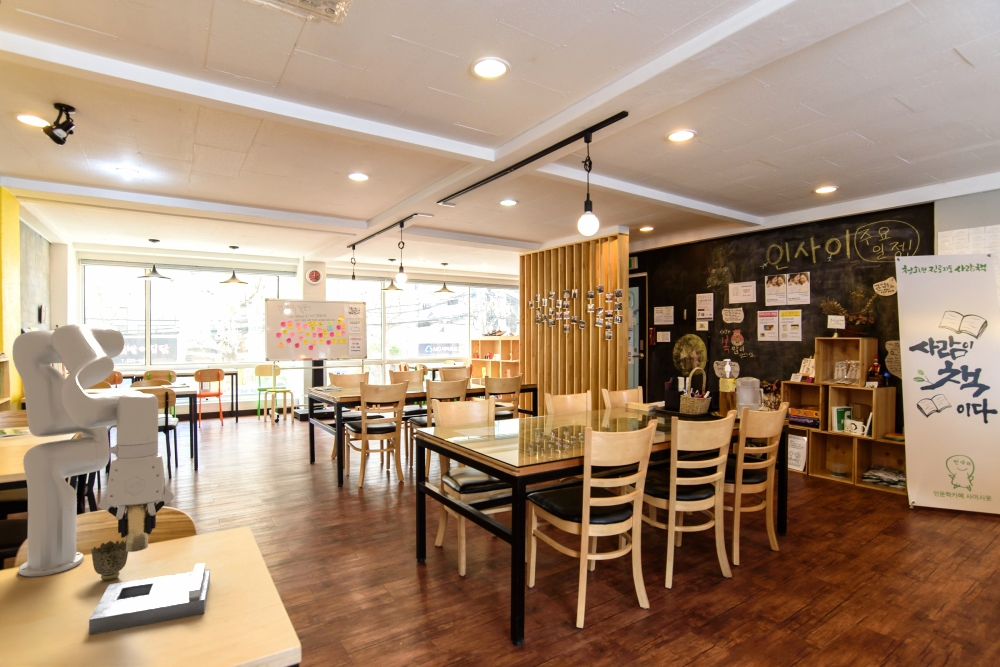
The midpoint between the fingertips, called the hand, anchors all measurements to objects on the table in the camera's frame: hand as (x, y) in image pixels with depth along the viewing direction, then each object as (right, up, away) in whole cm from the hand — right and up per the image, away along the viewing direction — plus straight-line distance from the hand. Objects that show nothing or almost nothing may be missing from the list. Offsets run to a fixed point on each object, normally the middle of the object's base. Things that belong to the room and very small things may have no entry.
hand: (137, 533), depth 116 cm
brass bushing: (0, -3, 0) cm, 3 cm away
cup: (-15, -16, +12) cm, 25 cm away
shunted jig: (+4, -16, 0) cm, 16 cm away
